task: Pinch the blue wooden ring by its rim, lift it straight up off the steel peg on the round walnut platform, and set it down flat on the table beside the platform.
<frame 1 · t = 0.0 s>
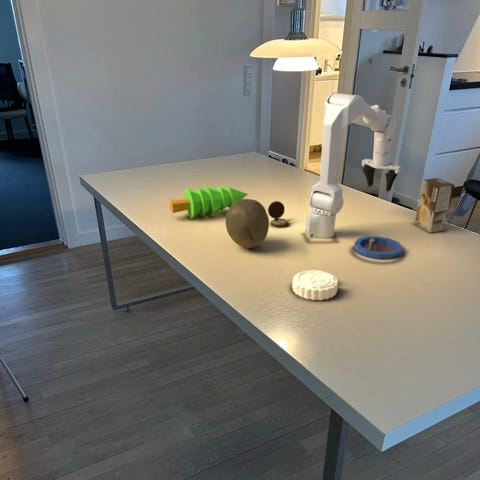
hand: (379, 188, 177), 11 cm above the table, tool pointing down, fingers open, 7 cm apart
coffee box: (429, 227, 173), on the table
brown coconut: (246, 246, 157), on the table
mooncake: (314, 290, 132), on the table
platform: (377, 253, 153), on the table
compass: (281, 224, 175), on the table
ring: (377, 249, 152), point 1 cm above the table, touching platform
decorative tree: (211, 215, 182), on the table
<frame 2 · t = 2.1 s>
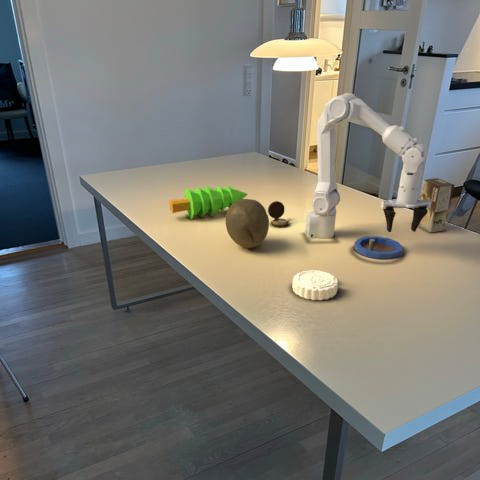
hand: (401, 230, 149), 7 cm above the table, tool pointing down, fingers open, 7 cm apart
nothing on the table moved.
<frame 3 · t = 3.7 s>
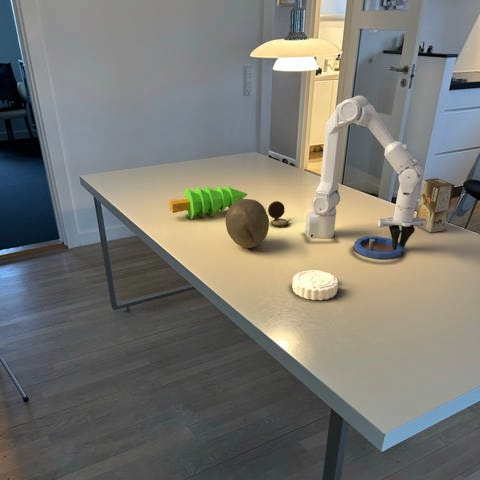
hand: (397, 248, 152), 2 cm above the table, tool pointing down, fingers closed on ring, 1 cm apart
ring: (377, 249, 152), point 1 cm above the table, touching gripper, platform
everything else where it was.
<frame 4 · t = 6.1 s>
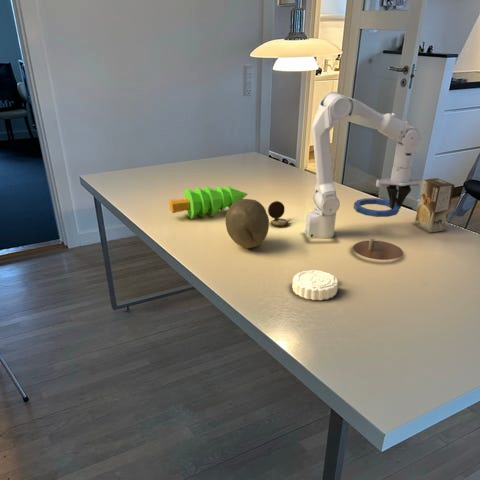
hand: (394, 208, 161), 9 cm above the table, tool pointing down, fingers closed on ring
ring: (376, 209, 161), point 9 cm above the table, touching gripper
everything else where it was.
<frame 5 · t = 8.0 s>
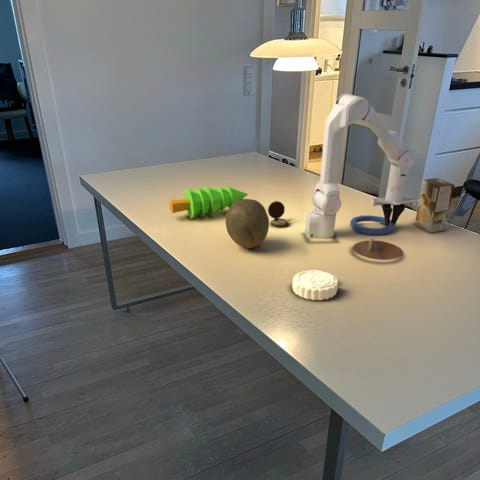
hand: (389, 225, 168), 2 cm above the table, tool pointing down, fingers closed on ring, 1 cm apart
ring: (371, 226, 168), point 2 cm above the table, touching gripper
everything else where it was.
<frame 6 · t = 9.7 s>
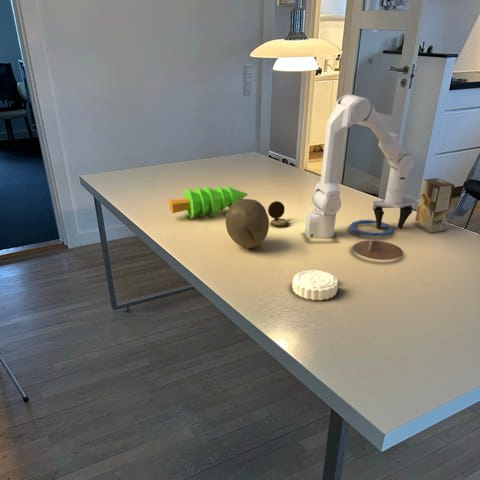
hand: (389, 228, 169), 1 cm above the table, tool pointing down, fingers open, 7 cm apart
ring: (370, 231, 169), on the table
everything else where it was.
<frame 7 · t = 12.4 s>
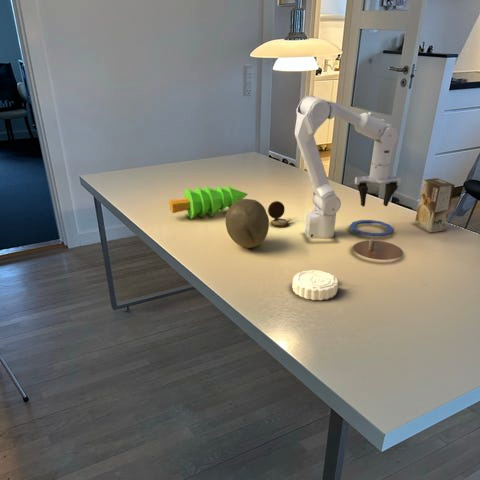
hand: (373, 205, 162), 10 cm above the table, tool pointing down, fingers open, 7 cm apart
nothing on the table moved.
at the end: ring inside the target area (0.0 cm from its centre), on the table; ring tilted 0°; the gripper is holding nothing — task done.
